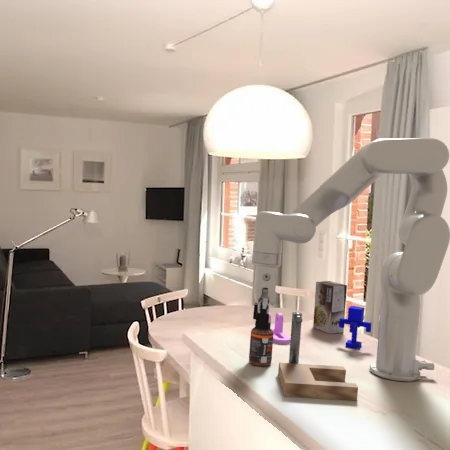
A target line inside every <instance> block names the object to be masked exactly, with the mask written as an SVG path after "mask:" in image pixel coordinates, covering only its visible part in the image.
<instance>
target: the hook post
mask: <svg viewBox="0 0 450 450" xmlns="http://www.w3.org/2000/svg"><path fill="white" fill-rule="evenodd" d="M291 314H292V316H291V329H290V338H291V339H290V343H289V356H288V363H296V364H299V361H300V345H301V336H302V333H301V332H302V323H303V313H302V312H298V311H294V312H293V311H292V313H291Z"/></svg>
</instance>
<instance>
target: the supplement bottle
mask: <svg viewBox="0 0 450 450" xmlns="http://www.w3.org/2000/svg"><path fill="white" fill-rule="evenodd" d="M254 322H255V323H256V320H255V321H254ZM271 322H272V321H271ZM271 322H270V321H269V322H268V329H267V330H265V329H256V328H255V326H254V327H253V328H251V331H250V339H249V351H248V352H249V353H248V354H249V355H248V362H249V364H251V365H253V366H255V367H256V366H257V367H268V366H270V365H271V364H272V359H273V347H274V345H273V344H274V342H273V334H274V333H273V330H271V329H272V328H271V327H270V326H272V325H271ZM255 323H254V324H255Z"/></svg>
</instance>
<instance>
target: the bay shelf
mask: <svg viewBox="0 0 450 450" xmlns="http://www.w3.org/2000/svg"><path fill="white" fill-rule="evenodd" d="M277 371H278V372H277V375H278V379H279V383H280V385H281V389H282V392H283V396H284V397H292V398H308V399H309V398H310V399H321V400H322V399H323V400H338V401H339V400H340V401H354V402H357V401H358V392H359V387H358V386H357V383H355V382H354V383H353V382H346V372H347V369H346V368H345V367H344V366H338V365H325V364H311V363H309V364H308V363H298V364H296V363H289V362H281V361H280V362H278V370H277Z"/></svg>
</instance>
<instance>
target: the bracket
mask: <svg viewBox="0 0 450 450" xmlns="http://www.w3.org/2000/svg"><path fill="white" fill-rule="evenodd" d="M269 321H270V322H272V316H271V313H270V312H269ZM271 326H272V325H271ZM271 326H270V329H271V330H273V333H274V334H273V344H277V345H278V344H279V345H290V340H291V336H289V335H287V334H286V333H284V330H283V329H284V315H283V313H282V312H276V313H275V317H274V328H271Z"/></svg>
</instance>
